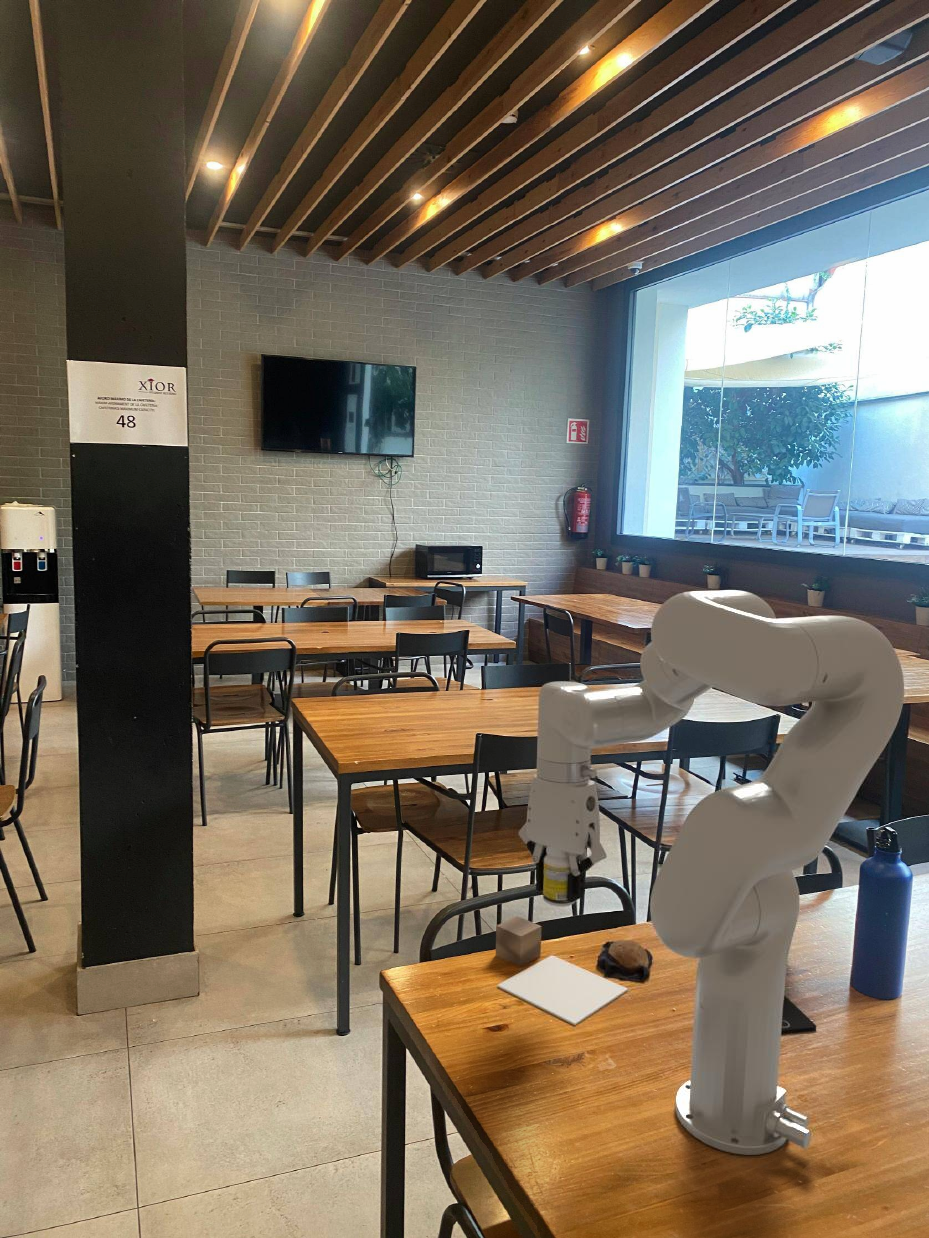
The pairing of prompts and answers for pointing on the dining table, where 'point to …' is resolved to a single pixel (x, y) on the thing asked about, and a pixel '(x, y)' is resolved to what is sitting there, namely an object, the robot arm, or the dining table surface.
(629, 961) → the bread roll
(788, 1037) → the dining table surface
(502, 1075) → the dining table surface
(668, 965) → the dining table surface
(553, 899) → the supplement bottle
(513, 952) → the walnut block
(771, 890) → the robot arm
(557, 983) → the white square tile
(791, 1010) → the cell phone
